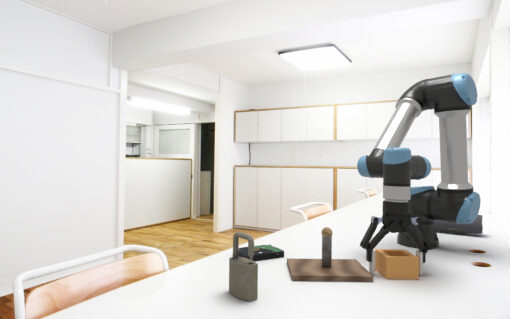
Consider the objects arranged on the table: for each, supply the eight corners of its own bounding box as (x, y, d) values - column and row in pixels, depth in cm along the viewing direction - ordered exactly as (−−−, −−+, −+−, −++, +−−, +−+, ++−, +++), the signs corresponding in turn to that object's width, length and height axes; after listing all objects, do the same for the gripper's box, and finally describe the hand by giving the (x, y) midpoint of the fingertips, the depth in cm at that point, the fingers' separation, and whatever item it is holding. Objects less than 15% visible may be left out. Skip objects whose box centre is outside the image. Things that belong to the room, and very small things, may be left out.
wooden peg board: (355, 264, 107) (356, 222, 107) (373, 282, 91) (373, 233, 91) (286, 263, 107) (287, 222, 107) (292, 280, 91) (292, 232, 91)
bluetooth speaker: (481, 234, 155) (482, 212, 155) (482, 238, 147) (482, 215, 147) (426, 228, 167) (426, 208, 167) (424, 231, 159) (424, 210, 159)
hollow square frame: (404, 269, 102) (404, 249, 103) (418, 279, 93) (418, 257, 94) (374, 268, 103) (375, 249, 103) (386, 279, 94) (386, 257, 94)
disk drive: (245, 265, 107) (284, 258, 114) (245, 256, 107) (284, 250, 114) (232, 256, 116) (269, 250, 123) (232, 248, 116) (269, 243, 123)
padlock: (246, 302, 77) (247, 236, 77) (226, 291, 83) (226, 231, 83) (260, 298, 79) (260, 234, 79) (238, 288, 86) (239, 229, 86)
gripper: (432, 199, 102) (431, 270, 102) (350, 198, 102) (349, 268, 102) (446, 202, 94) (445, 278, 94) (357, 201, 94) (356, 276, 94)
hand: (395, 273), depth 98 cm, fingers open, 13 cm apart
